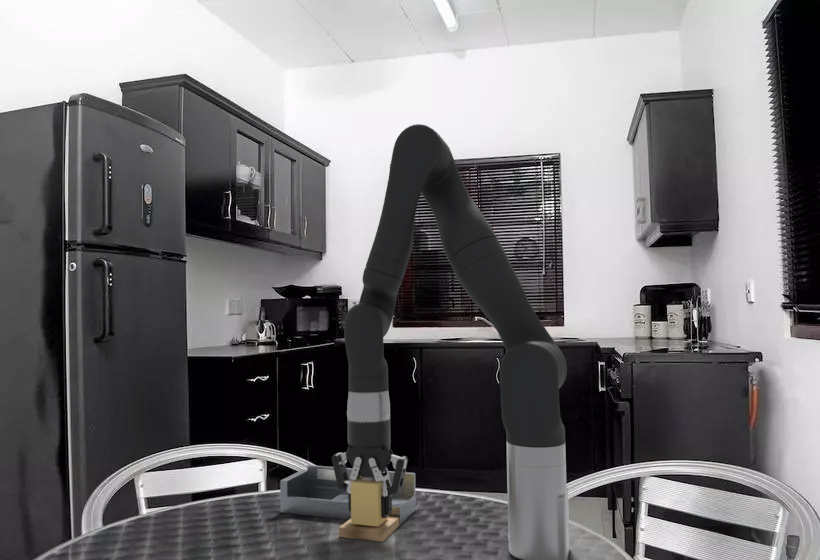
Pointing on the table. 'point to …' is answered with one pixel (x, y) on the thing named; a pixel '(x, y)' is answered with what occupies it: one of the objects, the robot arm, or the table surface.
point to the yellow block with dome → (366, 502)
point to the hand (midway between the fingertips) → (370, 514)
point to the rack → (335, 494)
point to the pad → (369, 530)
